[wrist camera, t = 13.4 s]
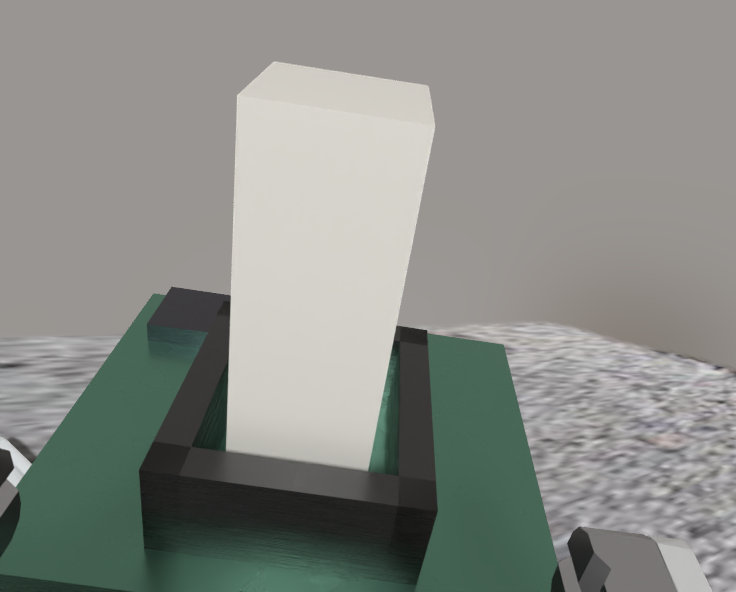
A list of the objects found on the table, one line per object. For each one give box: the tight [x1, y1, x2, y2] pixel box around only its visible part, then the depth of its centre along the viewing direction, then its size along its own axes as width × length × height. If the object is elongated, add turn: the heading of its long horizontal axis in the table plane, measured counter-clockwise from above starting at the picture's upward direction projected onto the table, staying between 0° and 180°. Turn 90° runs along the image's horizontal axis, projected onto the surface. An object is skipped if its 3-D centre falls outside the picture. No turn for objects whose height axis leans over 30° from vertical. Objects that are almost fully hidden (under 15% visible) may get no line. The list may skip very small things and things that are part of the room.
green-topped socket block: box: [0, 287, 558, 592], centre depth 23 cm, size 16×14×12 cm
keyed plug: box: [226, 61, 435, 471], centre depth 17 cm, size 4×5×12 cm
